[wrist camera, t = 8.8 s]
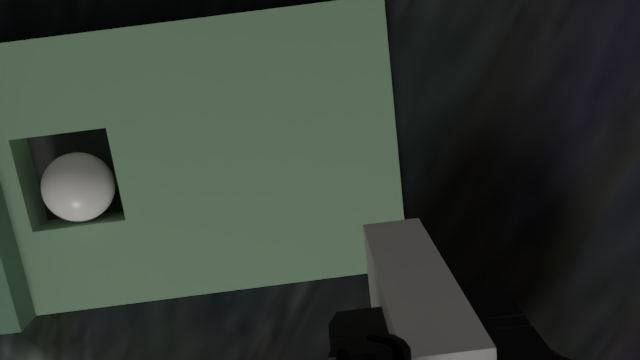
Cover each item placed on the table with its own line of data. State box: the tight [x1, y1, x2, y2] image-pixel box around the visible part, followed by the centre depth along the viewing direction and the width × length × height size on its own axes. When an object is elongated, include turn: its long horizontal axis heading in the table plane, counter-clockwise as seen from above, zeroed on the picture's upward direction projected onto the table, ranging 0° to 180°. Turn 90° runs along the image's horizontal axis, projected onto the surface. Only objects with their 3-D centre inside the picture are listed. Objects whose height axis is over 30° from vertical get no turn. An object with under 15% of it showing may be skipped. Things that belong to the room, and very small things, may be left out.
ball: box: [40, 152, 115, 221], centre depth 34 cm, size 4×4×4 cm
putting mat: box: [0, 0, 404, 335], centre depth 29 cm, size 17×24×14 cm
